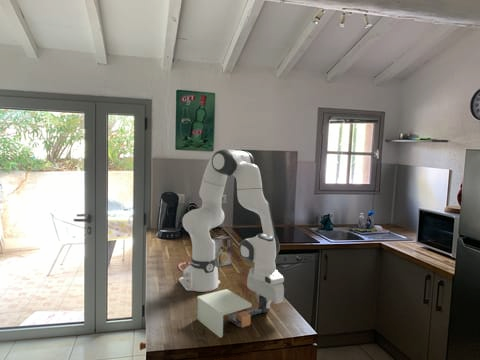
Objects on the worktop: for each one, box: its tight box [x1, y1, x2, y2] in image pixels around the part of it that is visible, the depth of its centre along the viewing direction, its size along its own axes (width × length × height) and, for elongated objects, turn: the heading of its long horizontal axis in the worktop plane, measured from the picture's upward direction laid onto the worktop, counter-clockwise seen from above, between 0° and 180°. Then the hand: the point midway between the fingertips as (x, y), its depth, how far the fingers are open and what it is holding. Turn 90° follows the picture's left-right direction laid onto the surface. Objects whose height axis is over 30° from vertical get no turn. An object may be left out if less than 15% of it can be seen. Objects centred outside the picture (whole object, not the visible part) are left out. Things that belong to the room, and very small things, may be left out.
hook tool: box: [228, 296, 270, 328], centre depth 143 cm, size 8×18×6 cm, turn 124°
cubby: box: [196, 288, 253, 339], centre depth 139 cm, size 17×14×9 cm
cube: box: [235, 310, 252, 328], centre depth 139 cm, size 4×4×4 cm
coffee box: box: [212, 235, 232, 268], centre depth 210 cm, size 9×6×16 cm
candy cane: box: [177, 262, 191, 273], centre depth 203 cm, size 8×1×15 cm
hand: (263, 305), depth 149 cm, fingers closed on hook tool, 3 cm apart
